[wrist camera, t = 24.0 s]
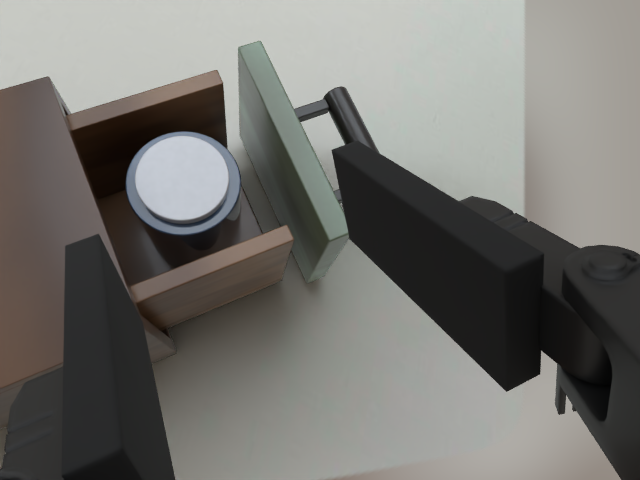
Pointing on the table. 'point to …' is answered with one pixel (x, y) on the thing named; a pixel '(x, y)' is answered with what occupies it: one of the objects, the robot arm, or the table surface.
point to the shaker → (186, 196)
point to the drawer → (272, 169)
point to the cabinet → (43, 235)
